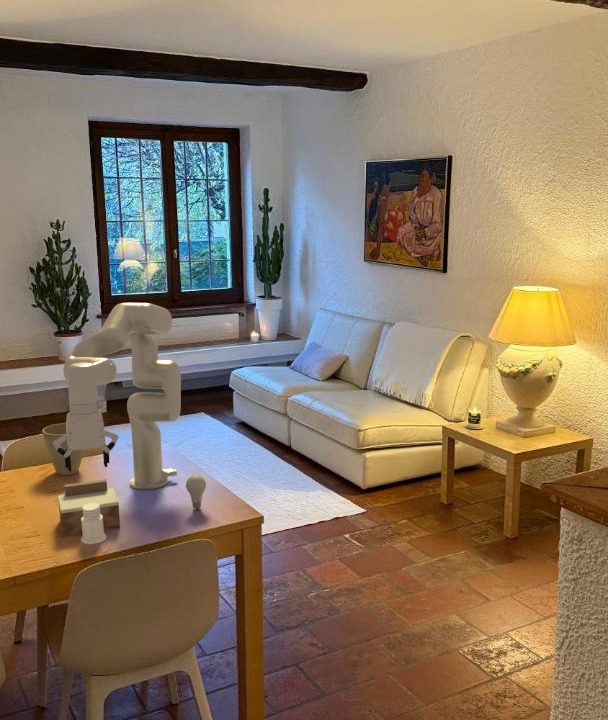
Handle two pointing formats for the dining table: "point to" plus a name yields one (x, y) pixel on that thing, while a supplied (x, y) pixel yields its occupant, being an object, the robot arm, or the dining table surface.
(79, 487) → the toolbox lid
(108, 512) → the toolbox
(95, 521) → the downlight
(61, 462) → the plant pot
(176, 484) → the dining table surface
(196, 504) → the lightbulb
